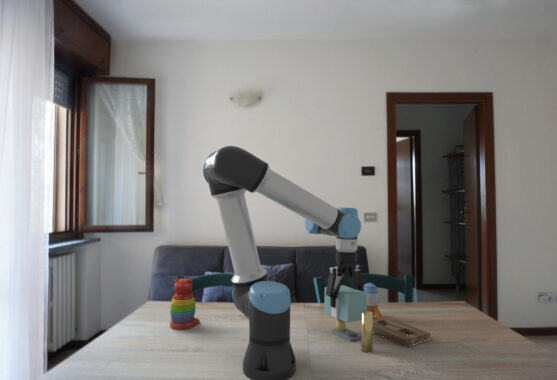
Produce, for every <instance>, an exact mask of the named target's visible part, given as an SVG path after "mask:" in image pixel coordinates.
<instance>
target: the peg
mask: <svg viewBox="0 0 557 380" xmlns="http://www.w3.org/2000/svg"><path fill="white" fill-rule="evenodd" d="M373 317H374V316H373V313H372V312H370V311H362V312H361V320H360V321H361V328H360V330H361V332H360V333H361V334H360V335H361V339H360V340H361V341H360V342H361V347H360V350H361V351H362V352H363V351H364V352H363V353H366V352H367V354H369V353H368V352H371V353H373V352H372V351H374V350H373V348H374V347H373V345H374V344H373V343H374V341H373V340H374V338H373V335H374V333H373V319H374V318H373Z"/></svg>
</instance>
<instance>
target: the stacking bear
mask: <svg viewBox="0 0 557 380" xmlns="http://www.w3.org/2000/svg"><path fill="white" fill-rule="evenodd" d="M174 283H175V284H174V292H175V294H173V296H172V299H171V301H170V306H169V313H170V314H169V315H170V322H169V327H170V328H171V329H173V330H176V331H177V330H178V331H180V330H181V331H182V330H189V329H192V328H195V327H196V326H198V325H199V323H201V322H200V319H199V318H198V317H195V314H196V308H197V307H196V301H195V298H194V294H193V293H192V291H193V280H192V279H191V278H176V279H175V280H174Z"/></svg>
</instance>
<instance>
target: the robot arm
mask: <svg viewBox="0 0 557 380" xmlns="http://www.w3.org/2000/svg"><path fill="white" fill-rule="evenodd" d="M269 165H270V164H269V163H267V162H266V161H264V160H263V159H261V158H259V157H258V156H256V155H254V154H253V153H251V152H249V151H248V150H245V149H244V148H241V147H239V146H234V145H226V146H224V147H221V148H219V149H218V150H216V151H215V150H214V151H213V152H211V153H210V154H209V155H208V157H206V159H205V160H204V163H203V167H202V174H203V177H204V180H205V181H206V183H207V184H208V188H209V191H210V196H211V197H212V198H213V199H215V200H216V201H217V204H218V208H219V211H220V216H221V217H220V218H221V221H222V226H223V229H224V234H225V237H226V241H227V242H226V243H227V247H228V251H229V254H230V259H231V263H232V269H233V271H234V274H233V276H232V278H231V279H230V281H231V284H232V294H231V297H232V301H233V303H234V306H235V308H236V309H237V310H238V311H239V312H240V313H242V314H243V316H244V317H245V318H247V320H248V324H249V328H248V329H249V331H248V333H249V334H248V335H249V336H248V344H247V346H246V350H245V352H244V355H243V360H242V372H243V374H244V375H245V376H246V377H247V378H250V379H251V380H287V379H288V378H291V377H292V376H293V375H294V374H295V373H296V372H297V359H296V355H295V352H294V350H293V347H292V343H291V306H292V305H291V304H292V299H291V291H290V289H289V288H288V286H287V285H285V284H284V283H281V282H276V281H275V280H274V281H273V280H270V279H269V274H268V271H267V269H266V268H264V267H262V266H261V260H260V257H259V253H258V248H257V243H256V241H255V235H254V231H253V227H252V221H251V217H250V213H249V209H248V205H247V199H246V195H245V193H246V192H247V191H248V192H249V193H251V194H254V193H258V194H260V195H263V196H264V197H266V198H268V199H269V200H271V201H273V202H275V203H277V204H278V205H280V206H282V207H284V208H286V209H287V210H289V211H290V212H293V213H295V214H297V215H298V216H301V217H302V218H304V219H305V221H304V224H305V227H304V228H305V231H307V233H309V234H311V235H324V236H325V235H326V236H332V237H336V238H335V239H336V240H335V250H336V251H335V261H336V265H335V266H334V267H331V266H329V267H328V273H329V275H328V278H327V284H326V285H327V286H326V287H327V289H326V295H327V296H329V297H330V306H331V315H330V316H332V317H334V318H335V319H336V318H338V298H336V297H337V295H338V292H339V290H340V287H341V285H343V284H342V283H343V281H345V279H346V278H348V281H349V283H350V288H353V289H356V290H360V291H363V292H364V279H363V266H362V265H359V264H356V263H357V262H358V252H357V251H358V238H359V237H358V236H359V234H360V233H361V230H362V221H361V220H360V219H359V212H358V211H359V210H358V209H357V208H356V207H343V206H341V207H340V206H338V207H335V206H334V205H331V204H330V203H328V202H326V201H325V200H324V199H322V198H320V197H318V196H317V195H315V194H313V193H312V192H310V191H308V190H306V189H305V188H303V187H301V186H299V185H298V184H296V183H294V182H293V181H291V180H289V179H287V178H286V177H284V176H283V175H281V174H279V173H277V172H276V171H274V170H272V169H271V168H270V166H269Z"/></svg>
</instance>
